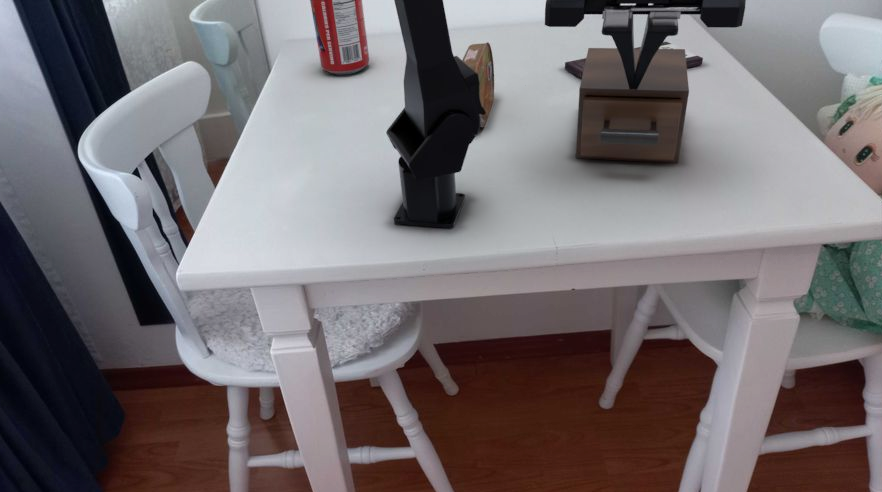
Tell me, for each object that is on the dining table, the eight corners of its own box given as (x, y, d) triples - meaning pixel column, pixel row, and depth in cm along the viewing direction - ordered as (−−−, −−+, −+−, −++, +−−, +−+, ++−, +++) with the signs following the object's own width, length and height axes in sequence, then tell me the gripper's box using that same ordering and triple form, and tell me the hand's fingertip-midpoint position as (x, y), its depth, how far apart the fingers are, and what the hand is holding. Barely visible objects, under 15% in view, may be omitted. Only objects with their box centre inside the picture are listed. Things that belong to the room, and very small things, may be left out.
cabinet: (678, 163, 80) (689, 91, 75) (575, 158, 83) (579, 88, 78) (675, 115, 90) (684, 49, 85) (584, 112, 93) (588, 47, 88)
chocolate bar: (565, 62, 106) (666, 41, 110) (564, 68, 106) (665, 47, 111) (596, 81, 99) (702, 58, 103) (595, 87, 99) (702, 64, 104)
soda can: (350, 80, 109) (335, -22, 100) (312, 73, 112) (294, -25, 104) (379, 63, 114) (368, -35, 105) (342, 58, 118) (327, -38, 109)
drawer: (674, 178, 75) (683, 119, 71) (577, 172, 78) (580, 115, 74) (671, 115, 88) (679, 62, 84) (588, 112, 91) (591, 61, 87)
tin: (480, 138, 89) (478, 73, 84) (456, 137, 90) (452, 73, 84) (496, 92, 101) (495, 33, 96) (474, 92, 101) (472, 34, 96)
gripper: (747, -92, 69) (720, 63, 79) (558, -85, 74) (554, 60, 83) (760, -69, 61) (728, 102, 70) (546, -63, 65) (542, 96, 74)
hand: (633, 88), depth 75 cm, fingers closed
